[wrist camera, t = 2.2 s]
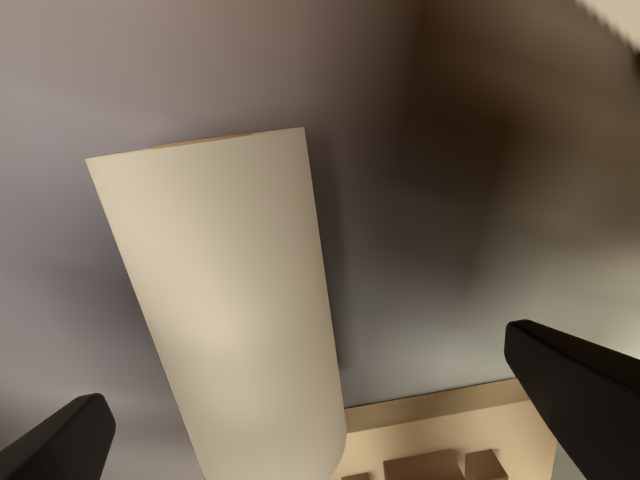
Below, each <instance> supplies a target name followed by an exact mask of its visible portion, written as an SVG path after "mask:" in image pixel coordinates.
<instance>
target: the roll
mask: <svg viewBox="0 0 640 480" xmlns="http://www.w3.org/2000/svg"><path fill="white" fill-rule="evenodd" d="M85 161H86V164H87V166H88V169H89V172H90V174H91V177H92V180H93V182H94V185H95V188H96V190H97V193H98V196H99V198H100V201H101V203H102V206H103V209H104V211H105V214H106V217H107V219H108V222H109V225H110V227H111V230H112V233H113V235H114V238H115V241H116V243H117V246H118V249H119V251H120V254H121V257H122V259H123V262H124V265H125V267H126V270H127V273H128V275H129V278H130V280H131V283H132V286H133V288H134V291H135V294H136V296H137V299H138V302H139V304H140V307H141V310H142V312H143V315H144V318H145V320H146V323H147V326H148V328H149V331H150V334H151V336H152V339H153V342H154V344H155V347H156V350H157V352H158V355H159V357H160V360H161V363H162V365H163V368H164V371H165V373H166V376H167V379H168V381H169V384H170V387H171V389H172V392H173V395H174V397H175V400H176V403H177V405H178V408H179V411H180V413H181V416H182V419H183V421H184V424H185V427H186V429H187V432H188V435H189V437H190V440H191V442H192V445H193V448H194V450H195V453H196V456H197V458H198V461H199V464H200V466H201V469H202V472H203V474H204V477H205V480H329V479H330V477H331V476H332V475H333V473H334V472H335V470H336V468H337V467H338V465H339V463H340V460H341V458H342V456H343V452H344V449H345V445H346V439H347V427H346V419H345V412H344V405H343V398H342V391H341V384H340V377H339V370H338V363H337V355H336V348H335V341H334V334H333V327H332V320H331V313H330V306H329V299H328V292H327V284H326V277H325V270H324V263H323V256H322V249H321V242H320V235H319V228H318V221H317V214H316V206H315V199H314V192H313V185H312V178H311V171H310V164H309V157H308V150H307V143H306V136H305V128H304V127H298V128H289V129H281V130H273V131H266V132H258V133H252V132H250V133H242V134H234V135H227V136H220V137H213V138H206V139H199V140H192V141H185V142H179V143H172V144H165V145H159V146H153V147H151V148H148V149H141V150H135V151H128V152H122V153H116V154H110V155H104V156H98V157H93V158H88V159H85Z"/></svg>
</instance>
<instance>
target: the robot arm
mask: <svg viewBox="0 0 640 480" xmlns="http://www.w3.org/2000/svg"><path fill="white" fill-rule="evenodd" d="M504 355H505V359H506V361H507V363H508V365H509V366H510V368H511V370H512V371H513V373H514V374H515V376H516V378H517V379H518V381H519V382H520V384H521V386H522V387H523V389H524V390H525V392H526V394H527V395H528V397H529V398H530V400H531V402H532V403H533V405H534V407H535V408H536V410H537V411H538V413H539V415H540V416H541V418H542V419H543V421H544V422H545V424H546V425H547V427H548V428H549V430H550V431H551V432H552V434H553V435H554V436H555V438H556V439H557V441H558V442H559V443H560V445H561V446H562V447H563V449H564V450H565V451H566V453H567V454H568V455H569V457H570V458H571V459H572V460H573V462H574V463H575V464H576V466H577V467H578V468H579V470H580V471H581V472H582V474H583V475H584V476H585V478H586V479H587V480H640V360H639V359H636V358H633V357H631V356H628V355H625V354H622V353H620V352H617V351H614V350H611V349H608V348H606V347H603V346H600V345H597V344H595V343H592V342H589V341H586V340H583V339H581V338H578V337H575V336H572V335H570V334H567V333H564V332H561V331H558V330H556V329H553V328H550V327H547V326H545V325H542V324H539V323H536V322H533V321H531V320H527V319H523V320H517V321H511V322H509V323H508V324H507V326H506V332H505V344H504ZM115 429H116V423H115V419H114V417H113V415H112V413H111V410H110V408H109V406H108V404H107V402H106V400H105V398H104V396H103V395H102V394H100V393H94V394H88V395H82V396H79V397H77V398H75V399H74V400H72V401H71V402H70V403H68V404H67V405H65V406H64V407H63V408H61V409H60V410H58V411H57V412H56V413H54V414H53V415H51V416H50V417H48V418H47V419H46V420H44V421H43V422H41V423H40V424H39V425H37V426H36V427H34V428H33V429H32V430H30V431H29V432H27V433H26V434H25V435H23V436H22V437H20V438H19V439H18V440H16V441H15V442H13V443H12V444H11V445H9V446H8V447H6V448H5V449H4V450H2V451H1V452H0V480H100V478H101V474H102V471H103V468H104V465H105V462H106V459H107V456H108V453H109V450H110V447H111V443H112V440H113V437H114V434H115Z"/></svg>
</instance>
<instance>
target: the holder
mask: <svg viewBox="0 0 640 480" xmlns="http://www.w3.org/2000/svg"><path fill="white" fill-rule="evenodd" d="M344 412H345V419H346V427H347V439H346V445H345V449H344V452H343V456H342V458H341V460H340V463H339V465H338V467H337V468H336V470H335V472H334V473H333V475H332V476H331V477H330V479H329V480H551V475H552V469H553V463H554V457H555V452H556V446H557V439H556V438H555V436H554V435H553V434H552V432H551V431H550V430H549V428H548V427H547V425H546V424H545V422H544V421H543V419H542V418H541V416H540V415H539V413H538V411H537V410H536V408H535V407H534V405H533V403H532V402H531V400H530V398H529V397H528V395H527V394H526V392H525V390H524V389H523V387H522V386H521V384H520V382H519V381H518V379H517V378H515V379H510V380H504V381H498V382H493V383H487V384H482V385H476V386H471V387H465V388H459V389H454V390H448V391H443V392H437V393H432V394H426V395H421V396H415V397H409V398H404V399H398V400H393V401H387V402H382V403H376V404H370V405H365V406H359V407H354V408H348V409H344Z"/></svg>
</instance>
